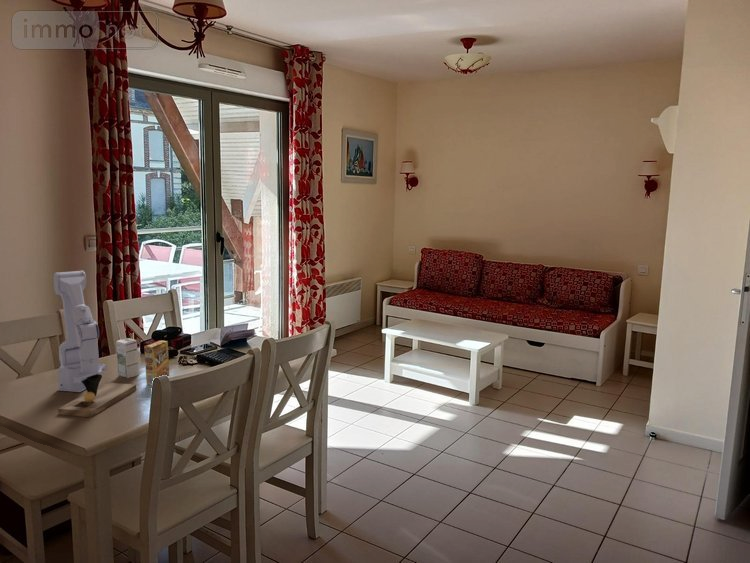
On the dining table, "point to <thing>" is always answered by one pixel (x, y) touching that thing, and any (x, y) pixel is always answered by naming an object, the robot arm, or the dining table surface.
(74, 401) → the hole board
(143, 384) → the dining table surface
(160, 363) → the candy box
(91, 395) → the ball
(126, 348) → the syrup box
